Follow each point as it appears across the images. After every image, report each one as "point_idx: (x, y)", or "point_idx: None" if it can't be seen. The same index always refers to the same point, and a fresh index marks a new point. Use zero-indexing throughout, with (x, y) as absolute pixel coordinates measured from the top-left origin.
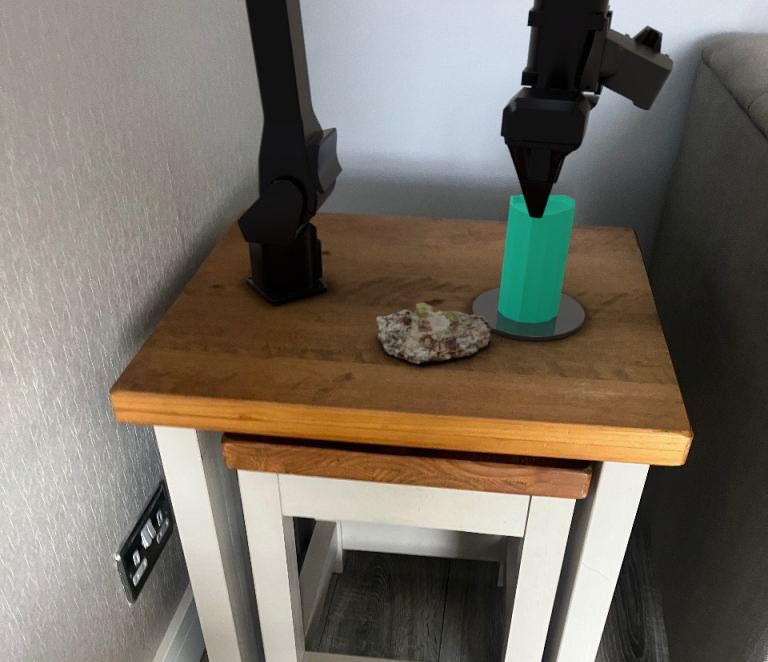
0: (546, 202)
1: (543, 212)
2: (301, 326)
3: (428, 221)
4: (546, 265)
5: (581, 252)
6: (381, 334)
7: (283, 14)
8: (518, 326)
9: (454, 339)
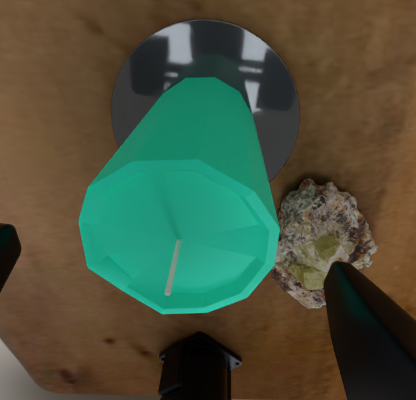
0: (394, 302)
1: (361, 273)
2: (279, 337)
3: None
4: (259, 151)
5: None
6: None
7: None
8: (266, 141)
9: (357, 229)
